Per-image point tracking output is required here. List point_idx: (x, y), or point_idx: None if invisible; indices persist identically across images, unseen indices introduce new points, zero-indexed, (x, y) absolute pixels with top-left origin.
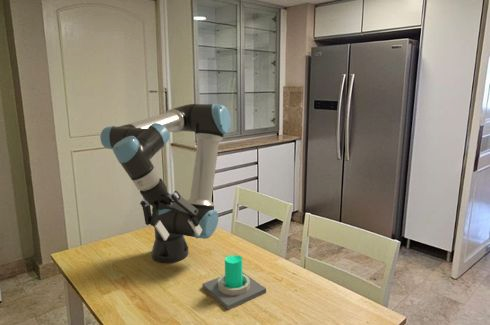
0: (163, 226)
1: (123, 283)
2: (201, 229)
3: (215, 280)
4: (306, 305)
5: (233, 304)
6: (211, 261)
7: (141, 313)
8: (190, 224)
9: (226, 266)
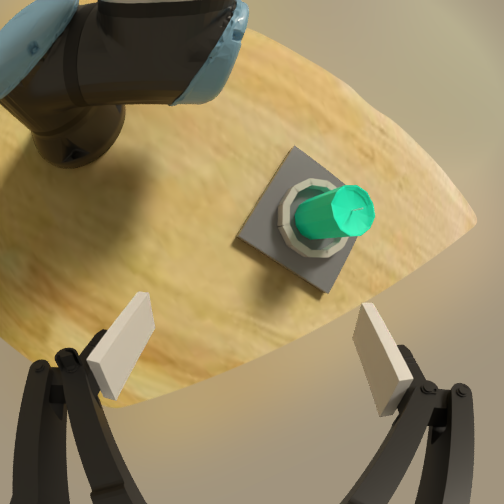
0: (123, 334)
1: (47, 291)
2: (373, 309)
3: (262, 209)
4: (420, 226)
5: (333, 281)
6: (200, 114)
7: (161, 373)
8: (374, 394)
9: (334, 232)
